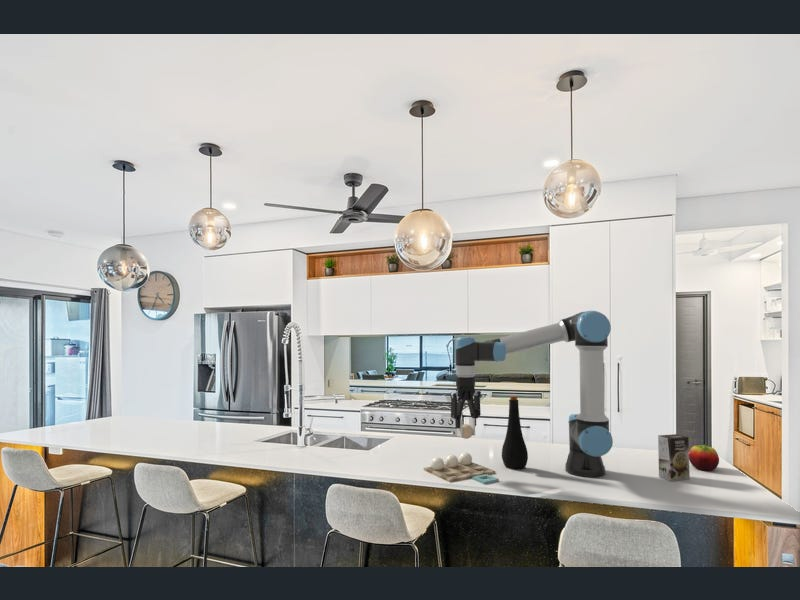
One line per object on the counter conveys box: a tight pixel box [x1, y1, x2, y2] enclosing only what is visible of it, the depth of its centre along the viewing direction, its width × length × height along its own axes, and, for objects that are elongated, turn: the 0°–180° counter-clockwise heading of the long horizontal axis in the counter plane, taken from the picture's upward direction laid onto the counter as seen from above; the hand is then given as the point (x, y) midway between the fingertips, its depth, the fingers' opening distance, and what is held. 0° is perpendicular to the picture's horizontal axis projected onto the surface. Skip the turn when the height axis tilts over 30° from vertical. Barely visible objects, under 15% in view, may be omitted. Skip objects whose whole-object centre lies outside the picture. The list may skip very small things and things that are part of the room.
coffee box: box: [657, 433, 691, 482], centre depth 192 cm, size 9×6×16 cm
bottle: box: [501, 395, 529, 470], centre depth 205 cm, size 11×11×30 cm
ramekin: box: [471, 474, 500, 485], centre depth 187 cm, size 7×7×2 cm
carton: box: [423, 461, 496, 483], centre depth 198 cm, size 22×18×2 cm
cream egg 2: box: [444, 454, 459, 468], centre depth 202 cm, size 6×6×6 cm
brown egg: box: [461, 423, 473, 440], centre depth 194 cm, size 6×6×6 cm
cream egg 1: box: [430, 456, 445, 471], centre depth 199 cm, size 6×6×6 cm
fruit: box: [689, 444, 720, 472], centre depth 204 cm, size 11×11×10 cm
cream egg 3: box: [458, 452, 473, 466], centre depth 206 cm, size 6×6×6 cm
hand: (466, 435), depth 194 cm, fingers closed on brown egg, 5 cm apart
